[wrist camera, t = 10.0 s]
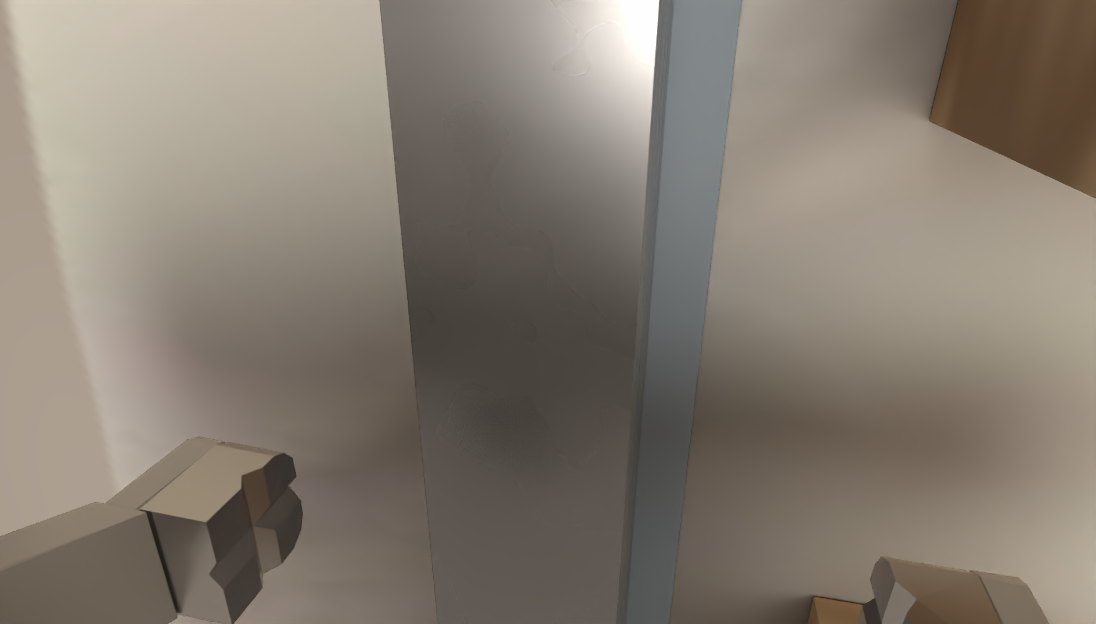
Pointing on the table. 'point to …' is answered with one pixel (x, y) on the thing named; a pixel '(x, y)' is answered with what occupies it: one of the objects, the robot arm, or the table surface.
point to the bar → (529, 289)
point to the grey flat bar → (679, 288)
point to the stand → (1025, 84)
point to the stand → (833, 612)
